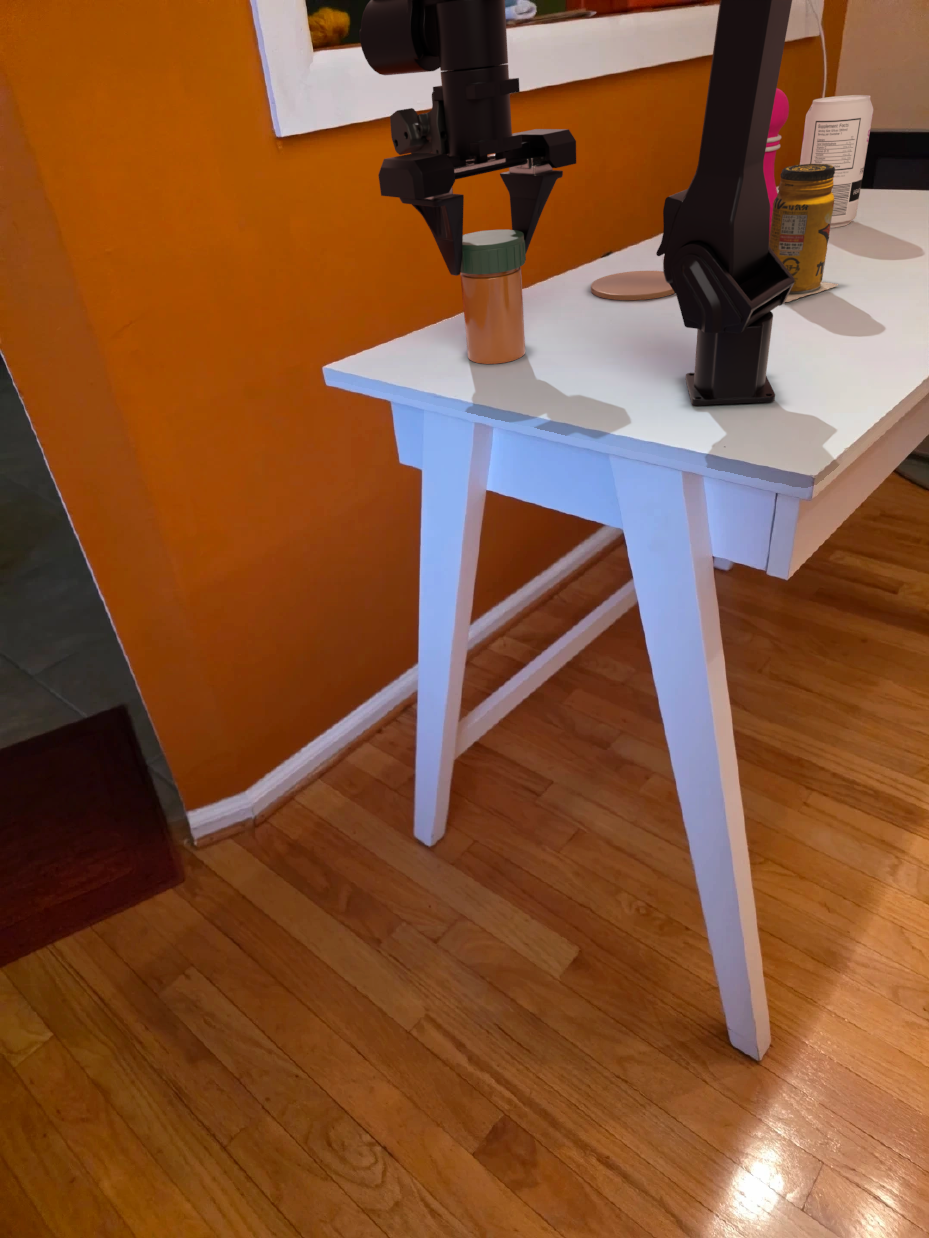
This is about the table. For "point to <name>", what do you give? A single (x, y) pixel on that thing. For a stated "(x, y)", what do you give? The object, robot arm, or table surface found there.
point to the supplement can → (839, 147)
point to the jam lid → (492, 251)
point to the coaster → (632, 286)
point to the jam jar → (494, 316)
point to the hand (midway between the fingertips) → (488, 265)
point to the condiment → (803, 225)
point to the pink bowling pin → (774, 144)
